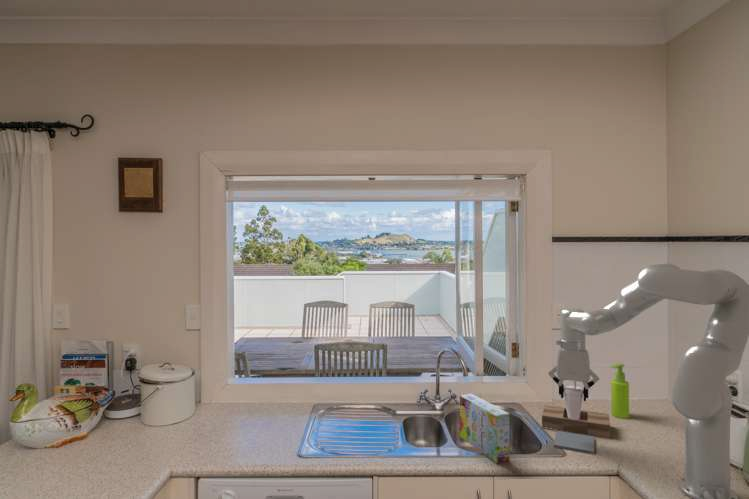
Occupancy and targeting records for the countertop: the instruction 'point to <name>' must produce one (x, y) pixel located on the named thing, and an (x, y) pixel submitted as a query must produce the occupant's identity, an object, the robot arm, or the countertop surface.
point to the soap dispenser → (620, 393)
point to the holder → (577, 422)
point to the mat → (574, 442)
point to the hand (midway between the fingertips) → (573, 397)
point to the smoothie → (573, 401)
